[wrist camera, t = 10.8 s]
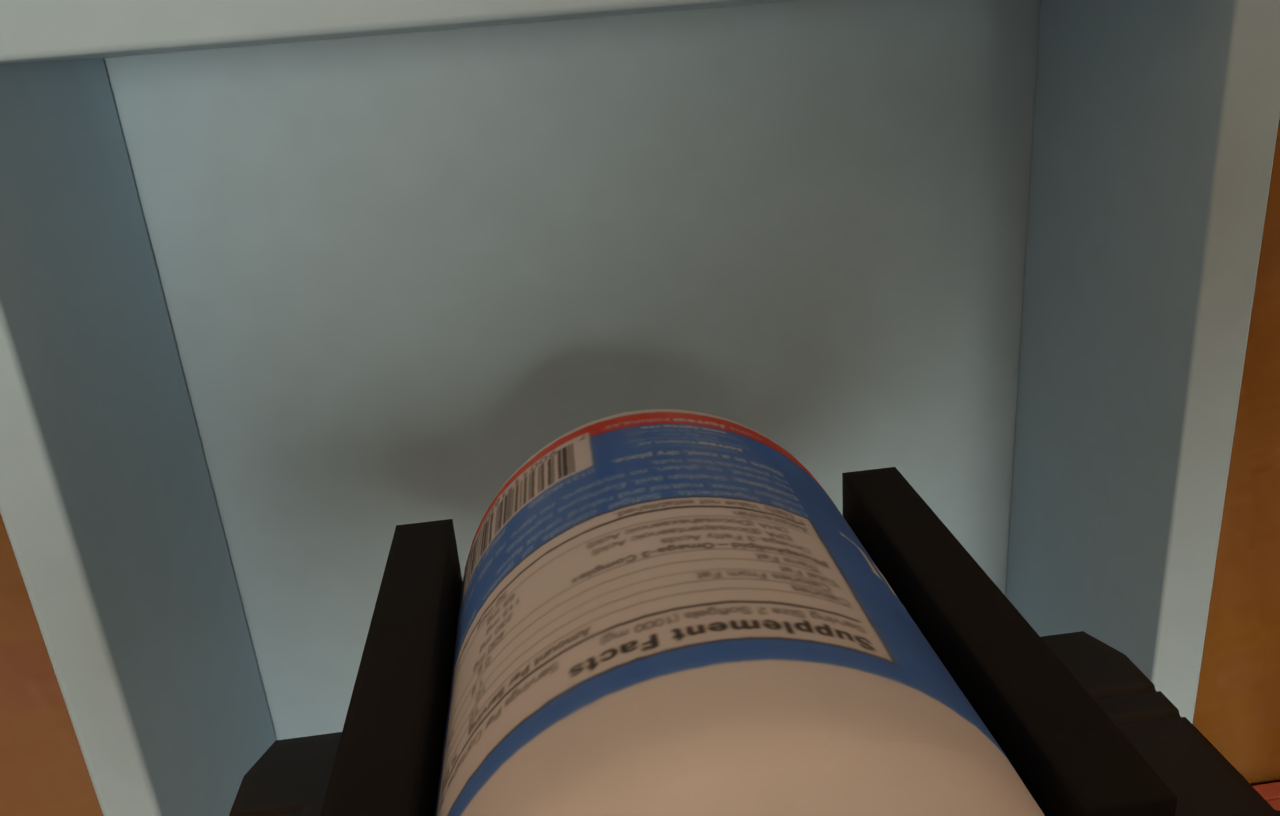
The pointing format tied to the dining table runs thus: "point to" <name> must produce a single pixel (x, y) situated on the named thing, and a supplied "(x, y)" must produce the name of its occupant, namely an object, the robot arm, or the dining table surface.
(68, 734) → the dining table surface
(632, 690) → the pill bottle
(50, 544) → the bin
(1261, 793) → the can bin
